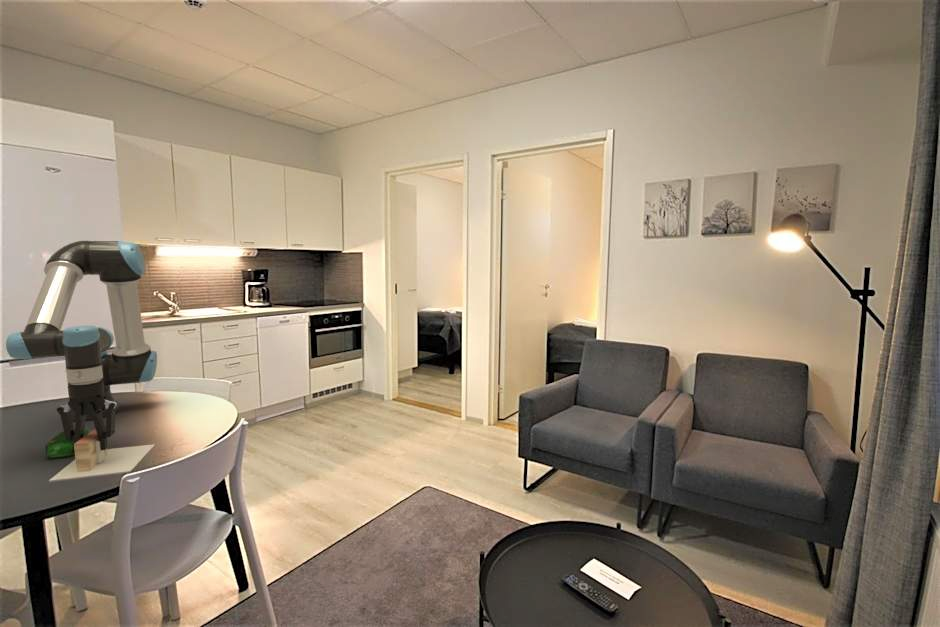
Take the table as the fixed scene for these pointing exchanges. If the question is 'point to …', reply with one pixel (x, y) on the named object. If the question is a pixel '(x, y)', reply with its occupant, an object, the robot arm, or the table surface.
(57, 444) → the snack package
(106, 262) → the robot arm
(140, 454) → the cream board
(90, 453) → the oak slab
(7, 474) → the table surface
